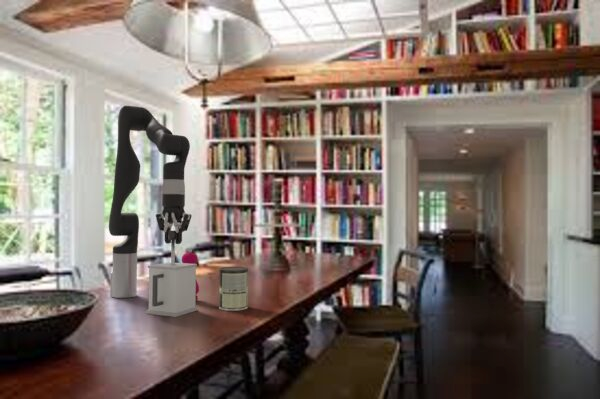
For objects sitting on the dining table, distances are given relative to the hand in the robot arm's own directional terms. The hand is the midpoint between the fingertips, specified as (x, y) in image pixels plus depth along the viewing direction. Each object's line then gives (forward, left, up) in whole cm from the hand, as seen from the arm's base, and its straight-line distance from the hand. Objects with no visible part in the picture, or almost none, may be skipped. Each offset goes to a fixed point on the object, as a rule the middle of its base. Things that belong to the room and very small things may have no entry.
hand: (173, 243), depth 175 cm
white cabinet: (0, -2, -23) cm, 23 cm away
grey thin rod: (0, 0, -17) cm, 17 cm away
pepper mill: (-7, +19, -23) cm, 31 cm away
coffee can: (+15, +15, -23) cm, 32 cm away
